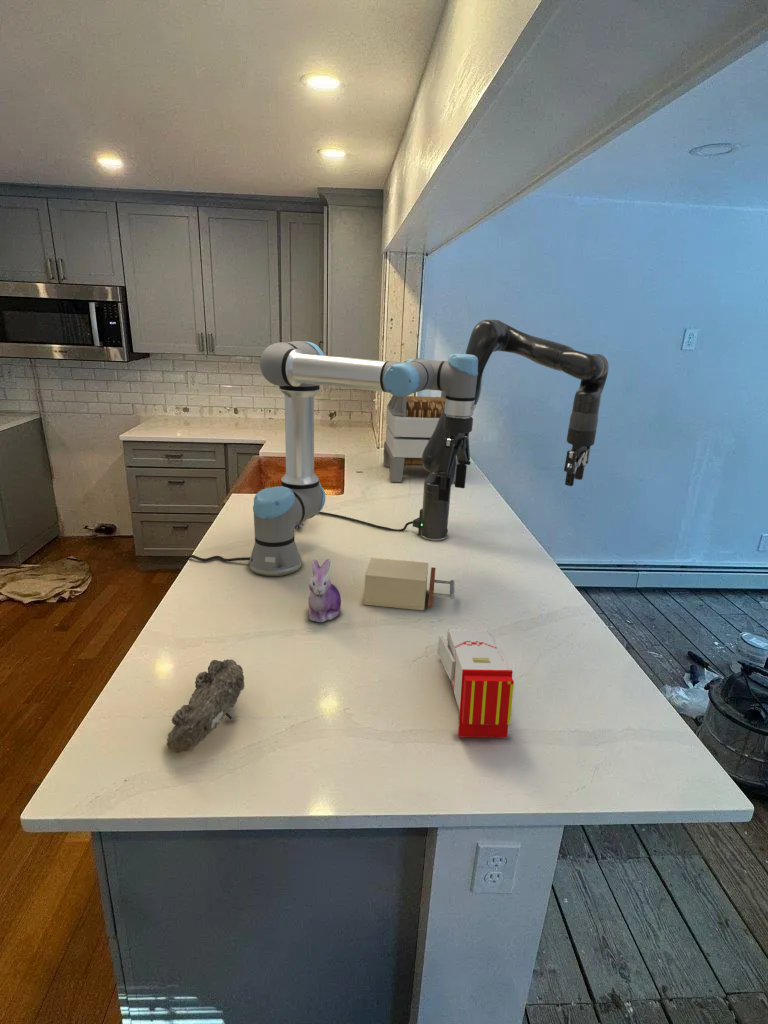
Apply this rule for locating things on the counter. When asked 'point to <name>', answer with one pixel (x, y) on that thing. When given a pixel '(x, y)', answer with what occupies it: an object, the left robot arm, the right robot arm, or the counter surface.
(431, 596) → the drawer
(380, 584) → the cabinet
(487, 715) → the toy
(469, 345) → the right robot arm
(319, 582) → the figurine
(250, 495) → the counter surface
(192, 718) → the fossil
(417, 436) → the white box
